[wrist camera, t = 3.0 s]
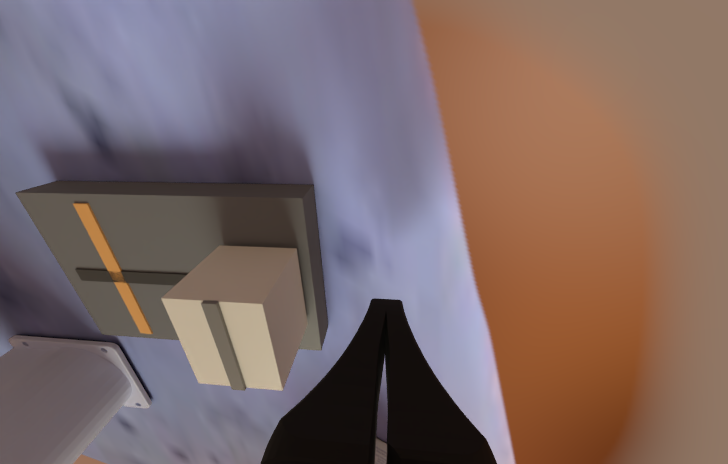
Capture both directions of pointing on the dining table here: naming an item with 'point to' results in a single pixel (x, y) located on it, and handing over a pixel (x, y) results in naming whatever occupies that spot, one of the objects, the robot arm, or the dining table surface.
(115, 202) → the fader panel
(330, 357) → the dining table surface
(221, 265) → the fader knob
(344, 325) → the dining table surface
